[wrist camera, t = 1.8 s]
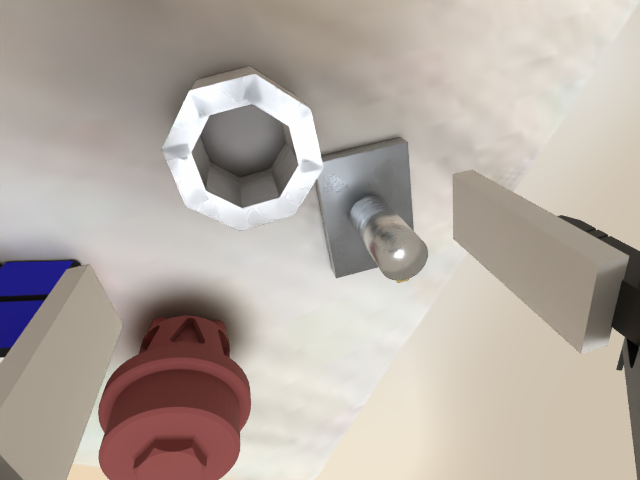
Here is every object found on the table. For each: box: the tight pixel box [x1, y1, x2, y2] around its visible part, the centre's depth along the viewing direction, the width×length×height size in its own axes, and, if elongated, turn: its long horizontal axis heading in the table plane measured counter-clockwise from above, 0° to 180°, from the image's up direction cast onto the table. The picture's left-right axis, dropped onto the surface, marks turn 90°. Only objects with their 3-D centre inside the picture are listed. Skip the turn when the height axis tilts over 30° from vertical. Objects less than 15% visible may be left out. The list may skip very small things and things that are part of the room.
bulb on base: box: [315, 138, 428, 283], centre depth 29 cm, size 10×7×8 cm
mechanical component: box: [98, 316, 251, 480], centre depth 29 cm, size 12×10×10 cm
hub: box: [162, 66, 324, 231], centre depth 25 cm, size 8×8×6 cm
